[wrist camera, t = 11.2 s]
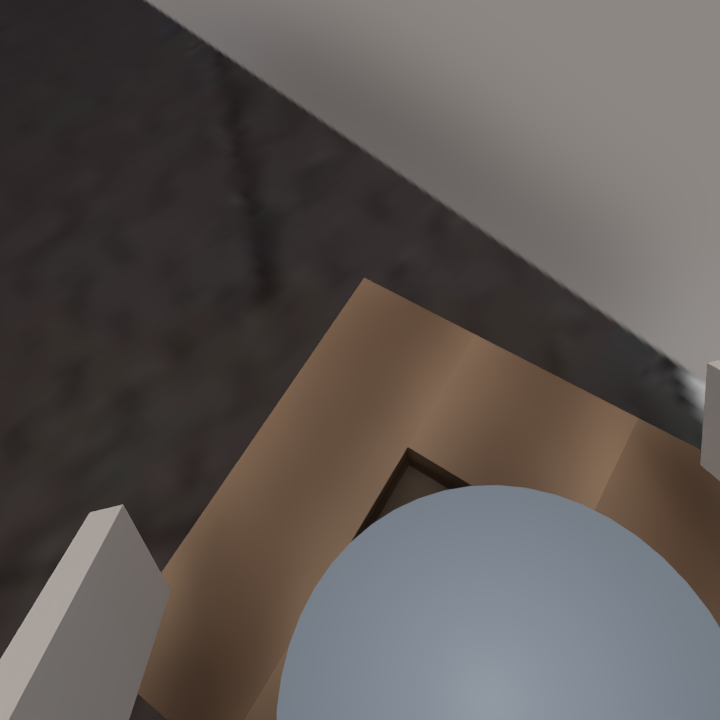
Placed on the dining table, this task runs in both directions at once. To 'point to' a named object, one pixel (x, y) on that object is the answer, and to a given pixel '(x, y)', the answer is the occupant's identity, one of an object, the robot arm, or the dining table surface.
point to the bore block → (398, 488)
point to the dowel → (501, 620)
